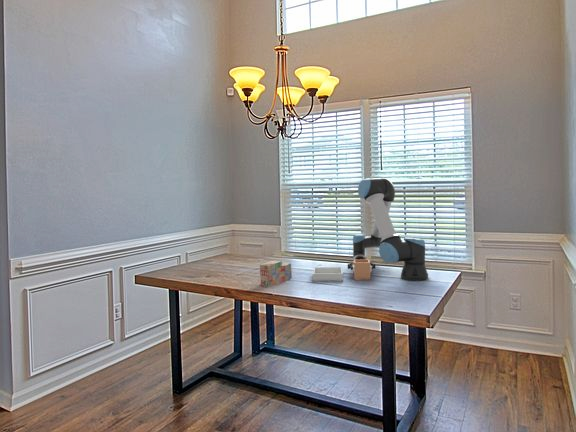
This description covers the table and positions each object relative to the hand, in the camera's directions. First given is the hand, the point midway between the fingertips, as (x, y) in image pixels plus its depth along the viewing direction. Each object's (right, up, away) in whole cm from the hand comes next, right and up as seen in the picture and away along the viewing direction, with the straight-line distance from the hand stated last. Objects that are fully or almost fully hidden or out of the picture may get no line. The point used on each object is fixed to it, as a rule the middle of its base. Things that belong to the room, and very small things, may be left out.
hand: (362, 269), depth 239 cm
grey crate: (-19, -6, +7) cm, 21 cm away
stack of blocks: (-49, -8, +2) cm, 50 cm away
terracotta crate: (+1, -6, +5) cm, 8 cm away
